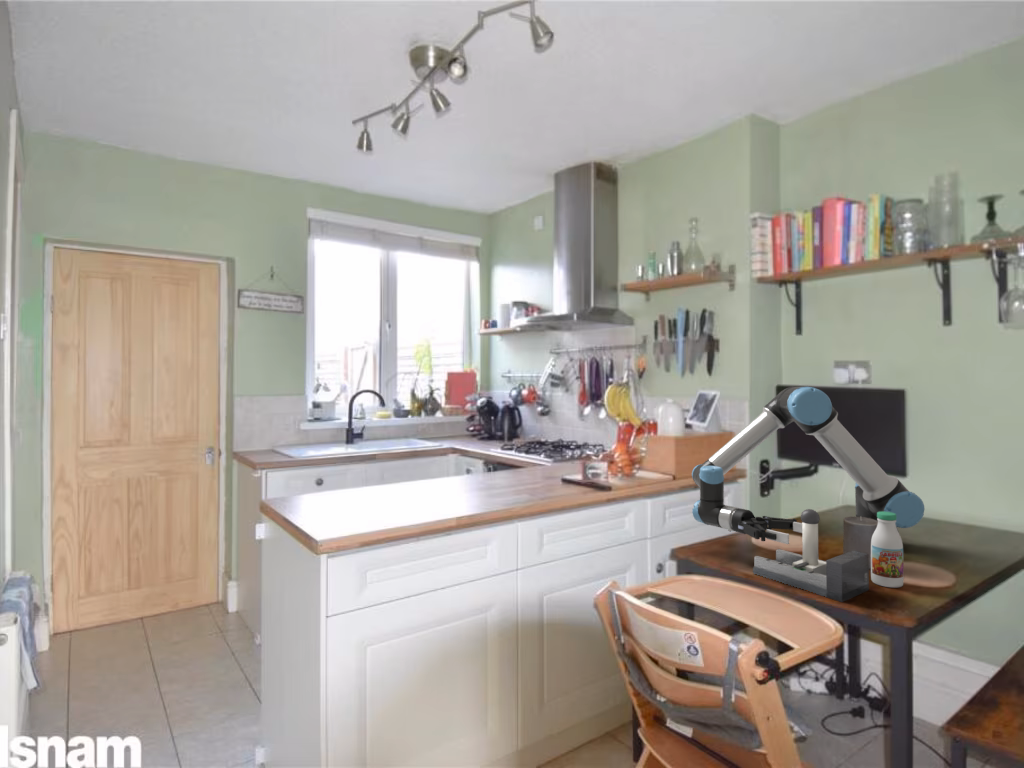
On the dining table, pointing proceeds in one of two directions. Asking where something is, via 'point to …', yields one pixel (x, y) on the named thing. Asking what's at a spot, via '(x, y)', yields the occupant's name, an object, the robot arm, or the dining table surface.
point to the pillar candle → (858, 535)
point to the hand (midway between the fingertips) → (802, 535)
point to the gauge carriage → (810, 543)
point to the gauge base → (839, 583)
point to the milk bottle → (887, 552)
